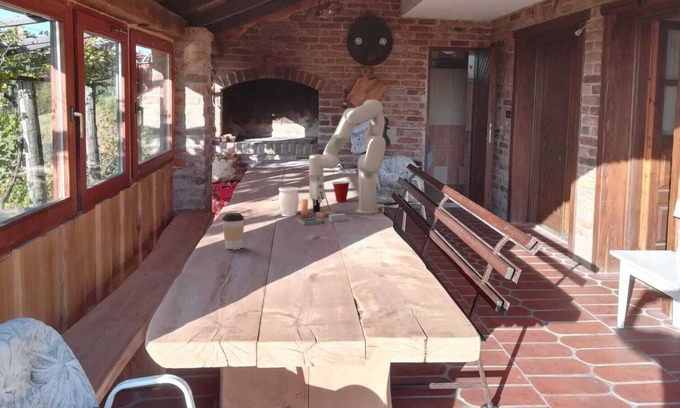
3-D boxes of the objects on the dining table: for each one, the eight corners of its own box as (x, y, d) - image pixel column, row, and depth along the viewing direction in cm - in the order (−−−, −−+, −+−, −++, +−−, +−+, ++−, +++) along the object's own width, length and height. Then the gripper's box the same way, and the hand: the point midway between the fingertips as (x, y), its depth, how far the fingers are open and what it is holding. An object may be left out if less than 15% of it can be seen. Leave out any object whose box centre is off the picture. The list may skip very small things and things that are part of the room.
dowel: (306, 218, 344) (306, 199, 342) (309, 219, 341) (308, 200, 339) (300, 219, 342) (300, 199, 341) (303, 220, 340) (302, 200, 338)
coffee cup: (224, 246, 290) (223, 211, 287) (245, 245, 291) (244, 211, 288) (222, 251, 281) (221, 215, 278) (244, 250, 282) (243, 215, 279)
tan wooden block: (329, 216, 356) (329, 210, 356) (336, 219, 349) (335, 213, 349) (315, 218, 353) (315, 212, 352) (322, 220, 346) (321, 214, 345)
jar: (296, 218, 348) (295, 189, 346) (276, 218, 351) (276, 189, 348) (301, 214, 359) (300, 186, 356) (282, 214, 361) (281, 186, 358)
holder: (308, 219, 347) (308, 213, 347) (315, 221, 340) (315, 216, 340) (294, 220, 344) (294, 214, 343) (300, 223, 337) (300, 217, 336)
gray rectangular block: (342, 221, 342) (342, 213, 341) (345, 222, 339) (345, 214, 338) (328, 222, 338) (328, 214, 337) (331, 223, 335) (331, 215, 335)
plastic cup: (338, 199, 407) (338, 179, 405) (353, 201, 401) (353, 181, 399) (328, 201, 398) (328, 181, 396) (343, 203, 392) (343, 183, 390)
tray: (315, 222, 340) (315, 217, 339) (323, 225, 332) (323, 220, 331) (297, 223, 335) (297, 219, 335) (304, 227, 327) (304, 222, 327)
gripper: (329, 179, 351) (329, 214, 355) (316, 175, 364) (316, 209, 368) (315, 180, 348) (316, 215, 351) (303, 176, 361) (304, 210, 364)
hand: (316, 212), depth 359 cm, fingers closed
